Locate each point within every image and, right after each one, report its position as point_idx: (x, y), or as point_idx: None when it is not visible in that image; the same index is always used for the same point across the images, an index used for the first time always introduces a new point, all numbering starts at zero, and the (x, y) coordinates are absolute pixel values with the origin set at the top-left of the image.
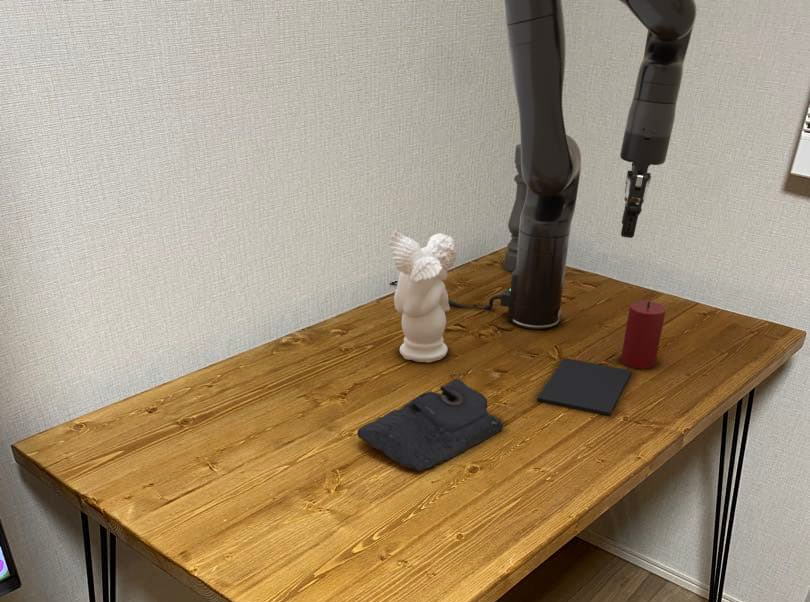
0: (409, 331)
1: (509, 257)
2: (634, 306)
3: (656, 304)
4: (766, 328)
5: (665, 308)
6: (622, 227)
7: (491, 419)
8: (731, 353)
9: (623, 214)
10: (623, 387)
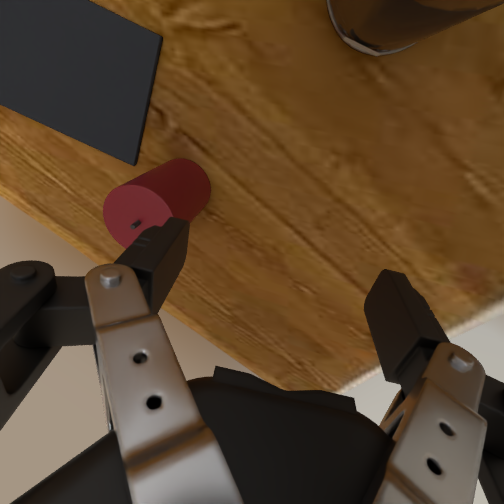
0: None
1: None
2: (136, 194)
3: None
4: (312, 382)
5: None
6: (159, 231)
7: None
8: (229, 319)
9: (398, 293)
10: (70, 136)
